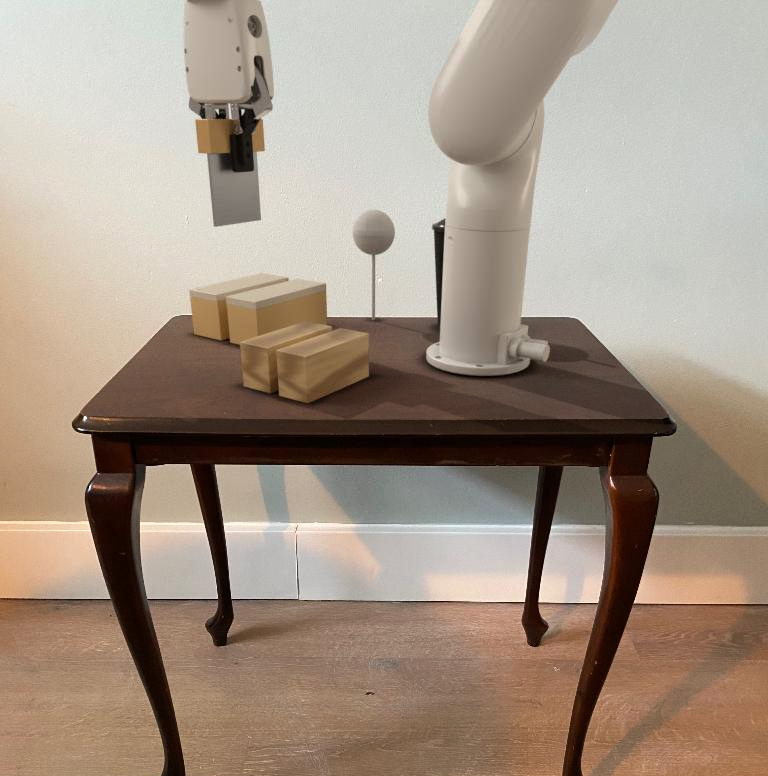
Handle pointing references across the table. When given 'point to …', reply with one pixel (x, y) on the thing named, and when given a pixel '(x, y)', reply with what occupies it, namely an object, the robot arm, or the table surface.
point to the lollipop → (373, 238)
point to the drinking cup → (439, 262)
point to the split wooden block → (305, 360)
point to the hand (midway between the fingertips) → (234, 169)
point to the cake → (256, 306)
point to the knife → (229, 173)
